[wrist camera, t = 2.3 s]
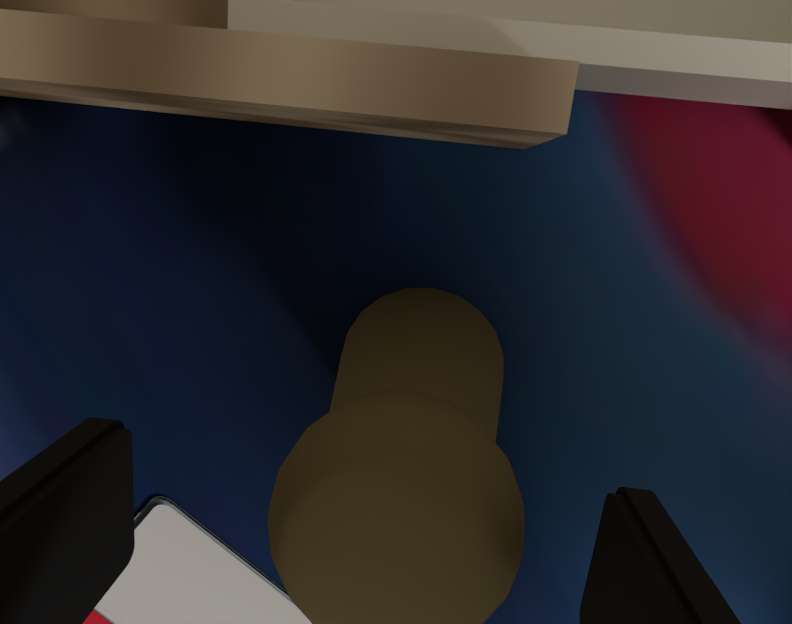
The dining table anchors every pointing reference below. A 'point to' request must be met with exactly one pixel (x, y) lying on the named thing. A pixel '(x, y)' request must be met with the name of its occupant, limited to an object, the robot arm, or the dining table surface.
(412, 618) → the cork
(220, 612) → the smartphone
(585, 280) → the dining table surface
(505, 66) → the caddy
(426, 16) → the drawer
